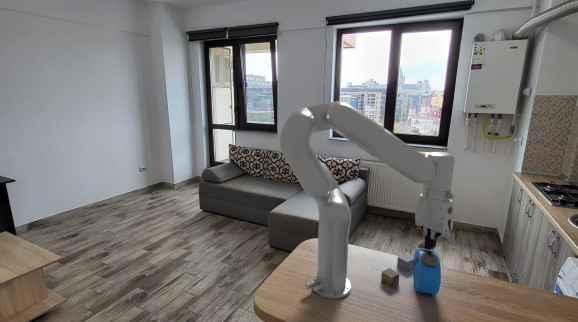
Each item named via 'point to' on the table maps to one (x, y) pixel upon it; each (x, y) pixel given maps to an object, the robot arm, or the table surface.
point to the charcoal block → (405, 262)
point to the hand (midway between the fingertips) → (429, 247)
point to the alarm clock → (426, 270)
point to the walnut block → (390, 277)
